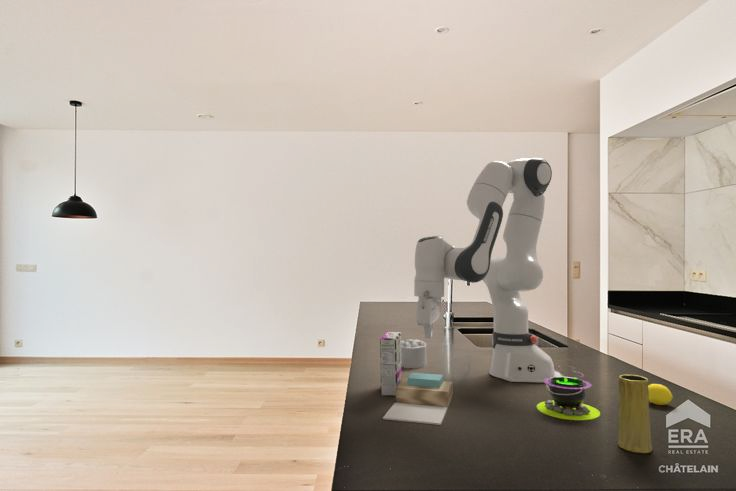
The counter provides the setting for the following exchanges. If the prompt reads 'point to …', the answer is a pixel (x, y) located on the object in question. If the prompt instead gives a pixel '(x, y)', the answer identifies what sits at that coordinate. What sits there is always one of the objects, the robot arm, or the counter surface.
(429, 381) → the teal rectangular block
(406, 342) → the lumpy-topped squat cylinder
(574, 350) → the counter surface
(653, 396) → the lemon
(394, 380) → the candy bar box
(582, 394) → the toy cauldron
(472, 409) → the counter surface
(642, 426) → the vase
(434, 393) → the wooden block
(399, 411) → the mat
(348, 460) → the counter surface
